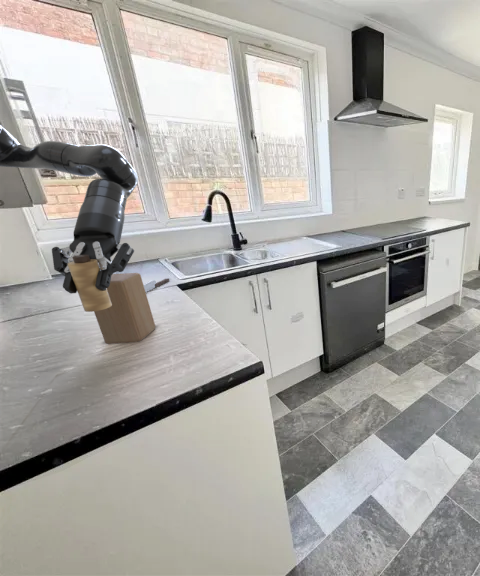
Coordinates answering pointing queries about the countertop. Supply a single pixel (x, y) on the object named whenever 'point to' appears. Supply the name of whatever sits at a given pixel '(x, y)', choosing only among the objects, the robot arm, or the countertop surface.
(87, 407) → the countertop surface
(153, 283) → the kitchen knife
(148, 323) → the block
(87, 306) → the pepper mill
